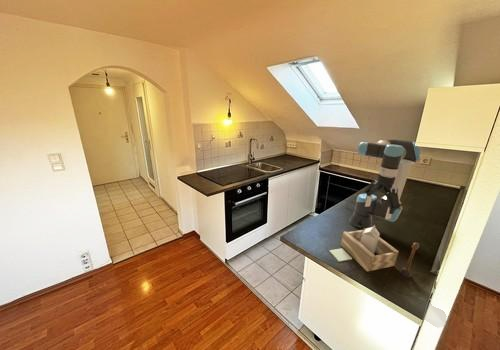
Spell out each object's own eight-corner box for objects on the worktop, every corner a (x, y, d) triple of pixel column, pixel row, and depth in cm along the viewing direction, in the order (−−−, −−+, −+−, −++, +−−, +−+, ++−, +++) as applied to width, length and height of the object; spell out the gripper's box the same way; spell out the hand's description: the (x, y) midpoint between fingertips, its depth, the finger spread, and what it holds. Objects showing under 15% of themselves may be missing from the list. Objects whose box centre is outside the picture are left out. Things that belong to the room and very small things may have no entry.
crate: (364, 241, 134) (367, 228, 131) (393, 265, 114) (398, 251, 111) (340, 244, 130) (343, 231, 127) (367, 271, 110) (371, 256, 107)
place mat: (342, 248, 126) (342, 248, 126) (352, 259, 118) (352, 258, 118) (329, 251, 124) (329, 250, 124) (338, 261, 116) (338, 261, 116)
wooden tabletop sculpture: (402, 268, 113) (413, 238, 106) (412, 274, 109) (424, 243, 102) (398, 273, 109) (409, 242, 102) (408, 279, 106) (420, 247, 99)
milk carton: (357, 254, 122) (363, 227, 116) (361, 249, 127) (368, 222, 120) (370, 261, 117) (378, 232, 111) (373, 255, 122) (381, 227, 116)
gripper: (362, 168, 115) (354, 202, 123) (404, 185, 93) (391, 225, 100) (373, 167, 117) (365, 201, 124) (416, 184, 95) (403, 223, 102)
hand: (377, 212), depth 112 cm, fingers open, 13 cm apart
